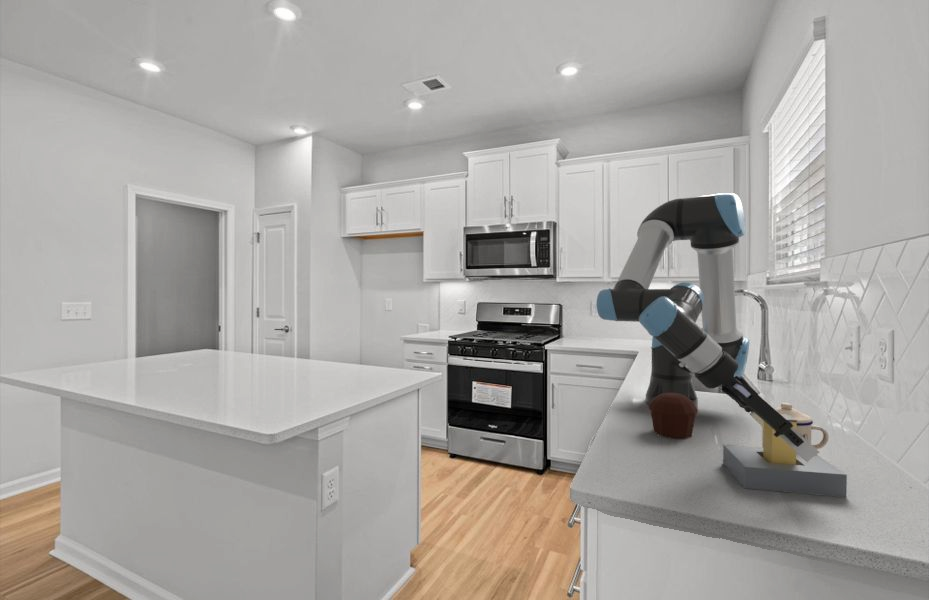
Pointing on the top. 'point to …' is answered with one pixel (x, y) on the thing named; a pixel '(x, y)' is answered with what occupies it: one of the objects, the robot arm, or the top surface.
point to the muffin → (673, 415)
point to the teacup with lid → (803, 424)
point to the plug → (778, 445)
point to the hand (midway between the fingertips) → (795, 444)
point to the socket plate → (784, 473)
